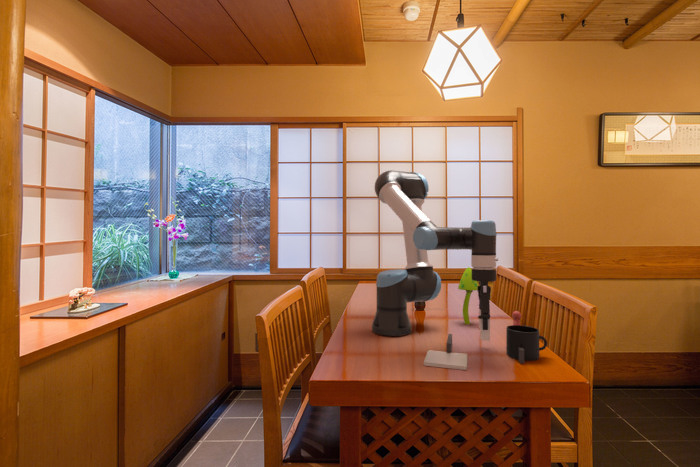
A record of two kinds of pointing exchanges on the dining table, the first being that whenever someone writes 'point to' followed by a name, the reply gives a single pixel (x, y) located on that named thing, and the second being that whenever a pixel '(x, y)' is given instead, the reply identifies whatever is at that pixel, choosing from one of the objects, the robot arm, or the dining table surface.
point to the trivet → (446, 360)
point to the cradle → (516, 321)
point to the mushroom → (467, 291)
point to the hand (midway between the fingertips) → (484, 334)
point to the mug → (523, 342)
